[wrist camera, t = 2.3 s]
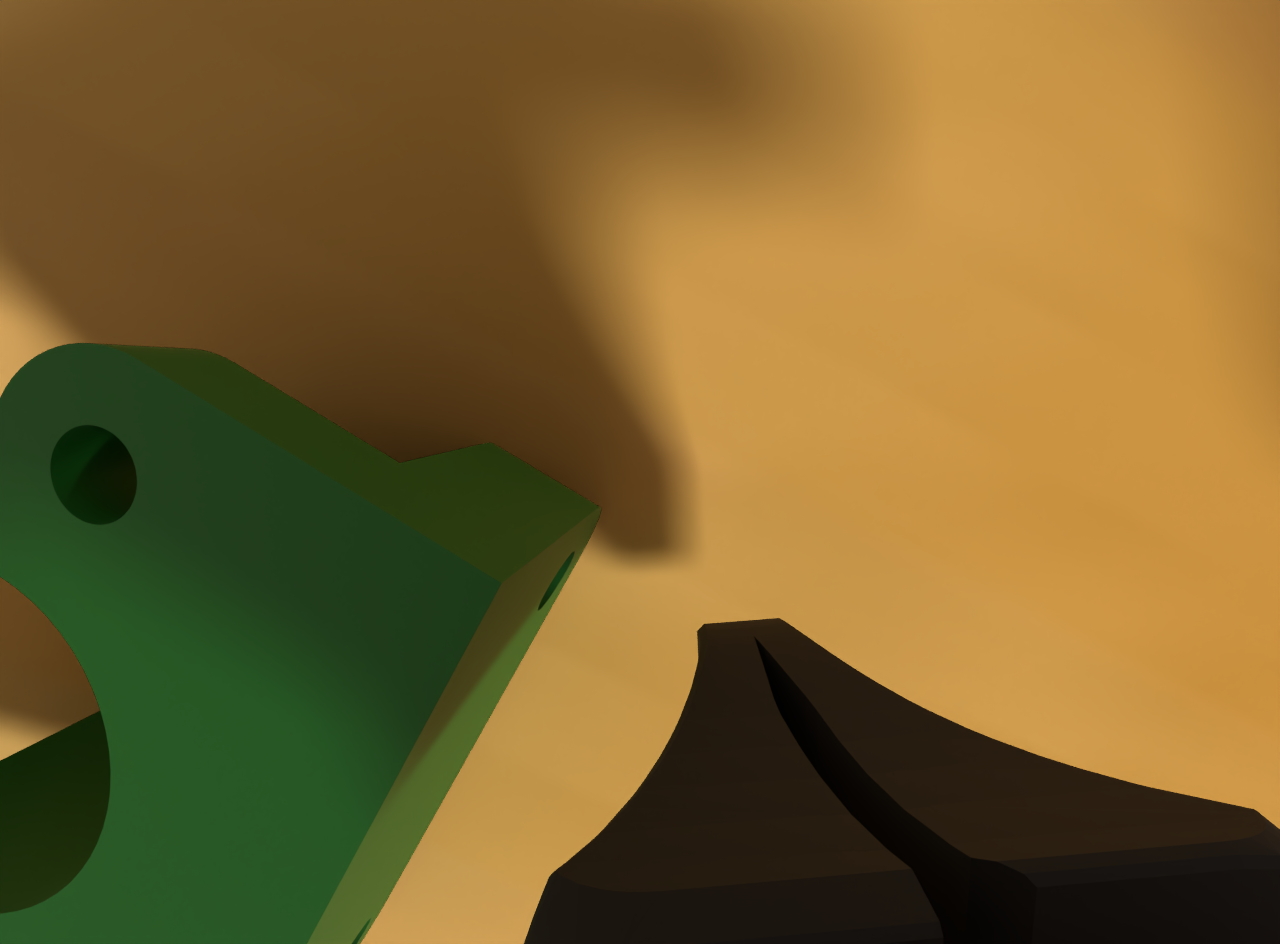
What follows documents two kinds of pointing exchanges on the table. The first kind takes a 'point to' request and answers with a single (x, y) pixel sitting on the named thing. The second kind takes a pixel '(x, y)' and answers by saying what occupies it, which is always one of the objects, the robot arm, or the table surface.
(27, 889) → the clamp
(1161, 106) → the table surface
